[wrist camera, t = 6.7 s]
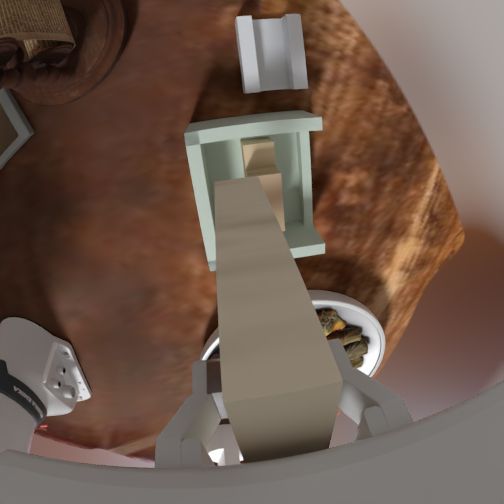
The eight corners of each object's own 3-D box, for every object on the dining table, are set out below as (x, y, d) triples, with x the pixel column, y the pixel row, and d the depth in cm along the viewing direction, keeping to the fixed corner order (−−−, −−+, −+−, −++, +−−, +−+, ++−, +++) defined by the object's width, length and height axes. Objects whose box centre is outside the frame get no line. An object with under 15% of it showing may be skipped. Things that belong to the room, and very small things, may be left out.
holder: (299, 88, 31) (308, 88, 28) (242, 92, 30) (245, 93, 28) (292, 19, 26) (300, 13, 24) (234, 22, 26) (236, 16, 23)
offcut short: (280, 220, 34) (285, 231, 32) (252, 224, 34) (255, 235, 32) (275, 166, 31) (280, 173, 29) (245, 170, 31) (248, 177, 28)
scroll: (150, 63, 27) (71, 42, 10) (40, 126, 28) (-81, 185, 11) (109, -39, 20) (27, -116, 3) (5, 30, 21) (-115, 30, 4)
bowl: (404, 295, 48) (427, 327, 41) (325, 404, 61) (335, 433, 55) (226, 257, 40) (230, 295, 34) (183, 393, 54) (182, 428, 47)
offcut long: (275, 213, 37) (280, 224, 34) (249, 217, 36) (252, 228, 34) (268, 136, 32) (273, 141, 29) (240, 140, 32) (242, 145, 29)
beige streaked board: (268, 287, 22) (318, 485, 10) (232, 292, 22) (257, 495, 10) (257, 175, 18) (343, 380, 6) (214, 182, 18) (222, 402, 6)
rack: (307, 224, 39) (324, 253, 33) (209, 239, 38) (210, 271, 32) (301, 109, 32) (321, 117, 26) (189, 123, 31) (183, 133, 25)
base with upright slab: (241, 441, 66) (246, 485, 55) (203, 440, 64) (205, 485, 53) (249, 424, 62) (256, 472, 51) (208, 423, 60) (210, 472, 49)
